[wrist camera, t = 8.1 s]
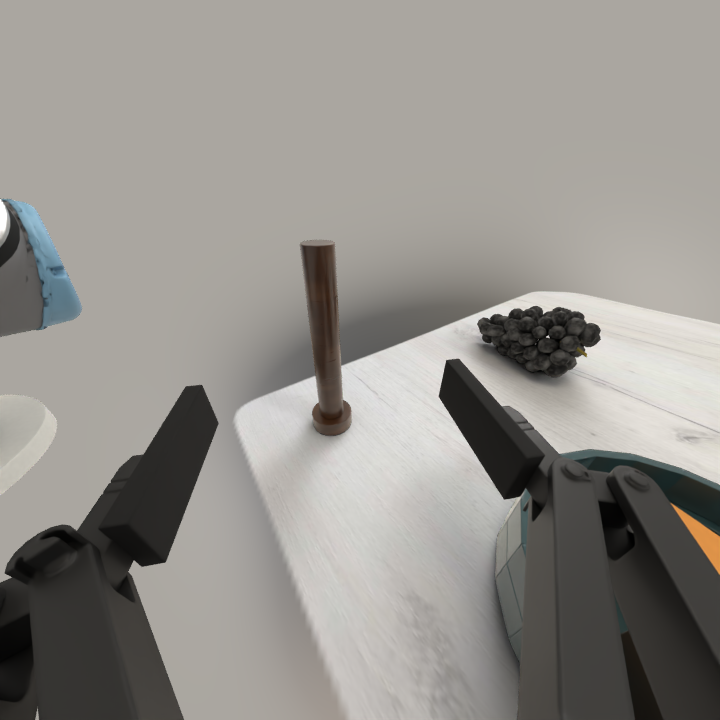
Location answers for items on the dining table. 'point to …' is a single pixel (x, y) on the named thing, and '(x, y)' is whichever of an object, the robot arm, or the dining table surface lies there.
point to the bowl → (680, 486)
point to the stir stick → (325, 335)
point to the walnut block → (639, 683)
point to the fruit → (541, 337)
